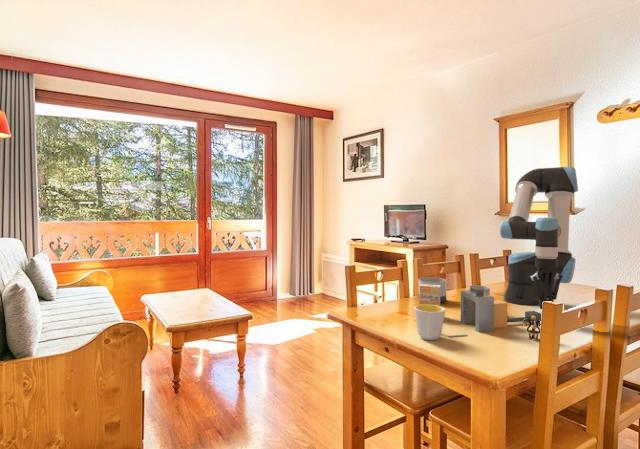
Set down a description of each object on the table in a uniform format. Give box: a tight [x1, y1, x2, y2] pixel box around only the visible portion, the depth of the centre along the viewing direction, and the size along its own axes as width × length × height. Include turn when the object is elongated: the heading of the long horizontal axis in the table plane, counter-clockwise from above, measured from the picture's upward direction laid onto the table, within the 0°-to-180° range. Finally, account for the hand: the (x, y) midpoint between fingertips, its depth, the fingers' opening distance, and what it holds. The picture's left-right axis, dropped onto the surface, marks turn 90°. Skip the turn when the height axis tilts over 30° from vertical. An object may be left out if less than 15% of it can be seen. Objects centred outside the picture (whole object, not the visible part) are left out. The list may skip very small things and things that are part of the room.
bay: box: [443, 320, 468, 338], centre depth 141 cm, size 7×18×1 cm, turn 10°
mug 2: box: [467, 284, 491, 296], centre depth 163 cm, size 12×8×11 cm
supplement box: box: [418, 284, 441, 306], centre depth 157 cm, size 8×5×13 cm, turn 70°
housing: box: [460, 287, 495, 333], centre depth 143 cm, size 6×12×14 cm, turn 10°
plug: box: [494, 299, 541, 329], centre depth 146 cm, size 21×5×9 cm, turn 100°
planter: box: [417, 276, 447, 304], centre depth 183 cm, size 13×13×10 cm
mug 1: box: [413, 304, 446, 341], centre depth 133 cm, size 14×10×10 cm
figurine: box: [522, 316, 541, 342], centre depth 129 cm, size 5×5×8 cm
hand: (545, 317), depth 148 cm, fingers closed
